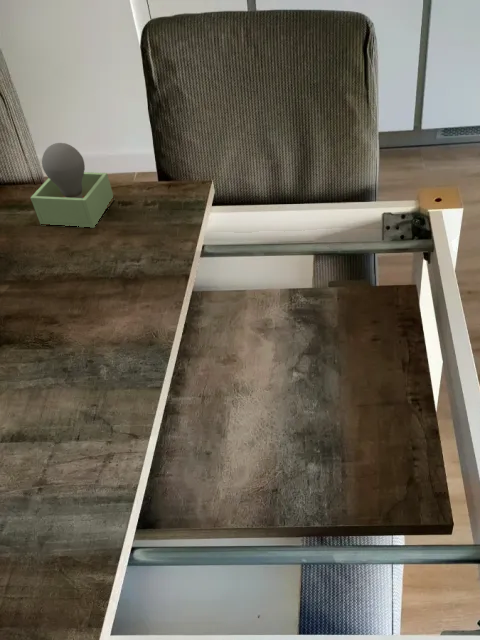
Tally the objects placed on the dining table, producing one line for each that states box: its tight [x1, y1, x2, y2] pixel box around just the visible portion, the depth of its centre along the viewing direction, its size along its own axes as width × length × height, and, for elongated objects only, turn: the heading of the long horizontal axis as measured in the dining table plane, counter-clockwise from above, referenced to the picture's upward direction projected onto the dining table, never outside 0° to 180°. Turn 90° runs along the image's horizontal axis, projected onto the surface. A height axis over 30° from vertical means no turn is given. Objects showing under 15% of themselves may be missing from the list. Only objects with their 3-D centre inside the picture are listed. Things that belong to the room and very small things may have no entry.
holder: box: [30, 171, 114, 229], centre depth 102 cm, size 9×9×5 cm
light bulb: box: [41, 142, 86, 198], centre depth 100 cm, size 6×6×10 cm
